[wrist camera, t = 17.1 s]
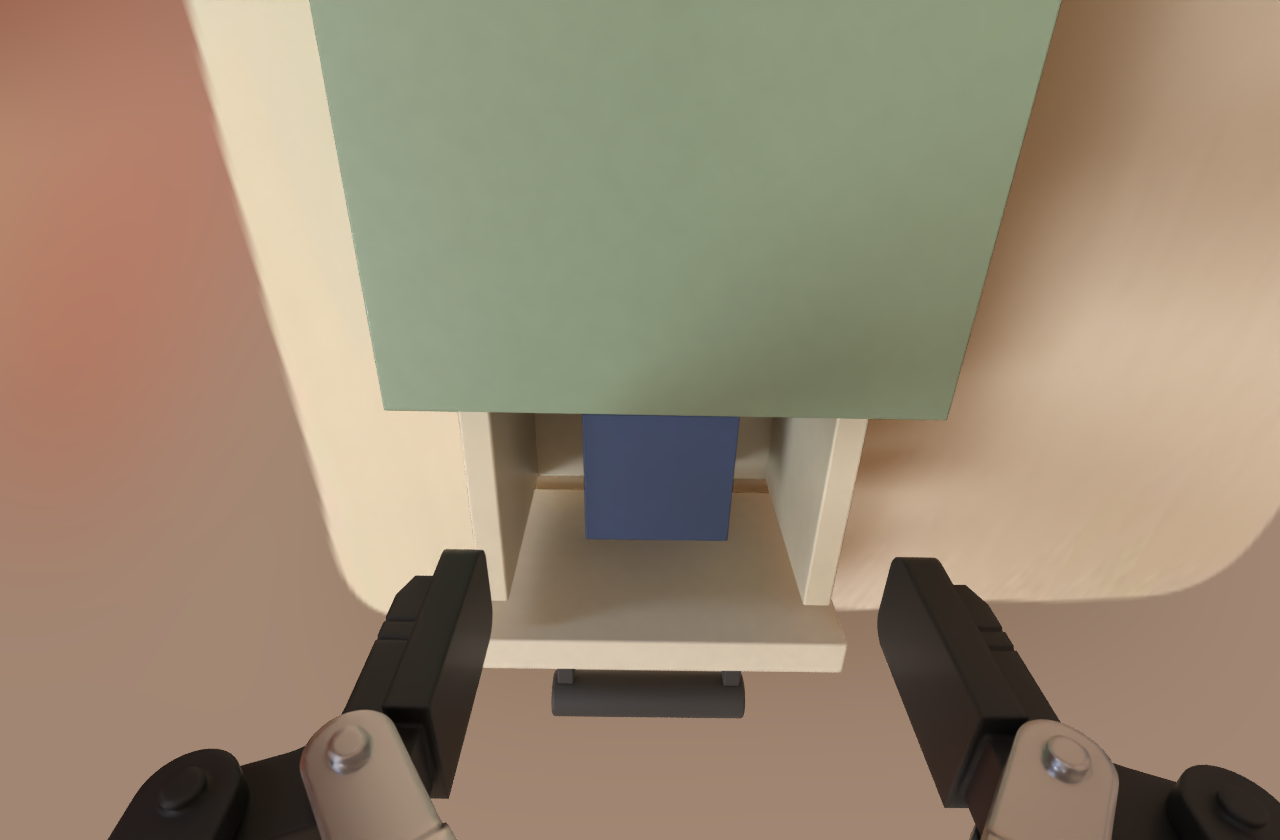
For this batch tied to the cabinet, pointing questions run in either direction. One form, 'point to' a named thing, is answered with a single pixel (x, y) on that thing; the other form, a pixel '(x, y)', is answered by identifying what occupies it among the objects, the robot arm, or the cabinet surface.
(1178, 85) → the cabinet surface
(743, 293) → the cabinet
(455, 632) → the robot arm
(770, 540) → the drawer
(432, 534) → the cabinet surface
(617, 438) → the block
